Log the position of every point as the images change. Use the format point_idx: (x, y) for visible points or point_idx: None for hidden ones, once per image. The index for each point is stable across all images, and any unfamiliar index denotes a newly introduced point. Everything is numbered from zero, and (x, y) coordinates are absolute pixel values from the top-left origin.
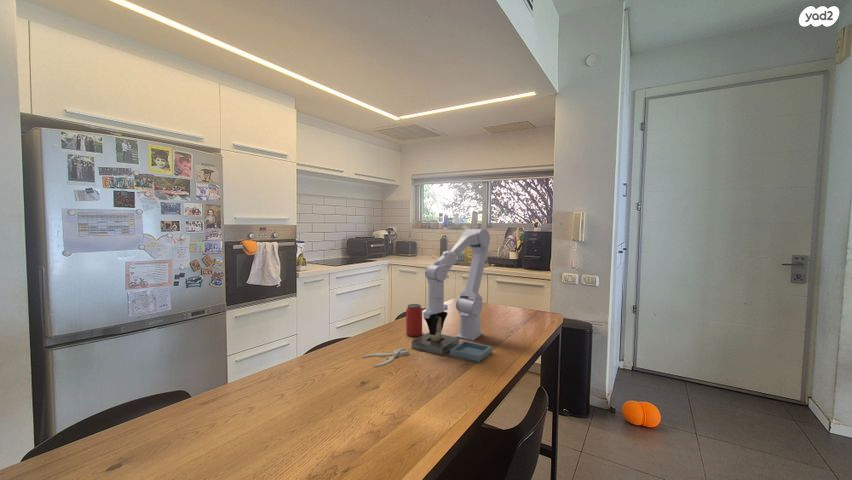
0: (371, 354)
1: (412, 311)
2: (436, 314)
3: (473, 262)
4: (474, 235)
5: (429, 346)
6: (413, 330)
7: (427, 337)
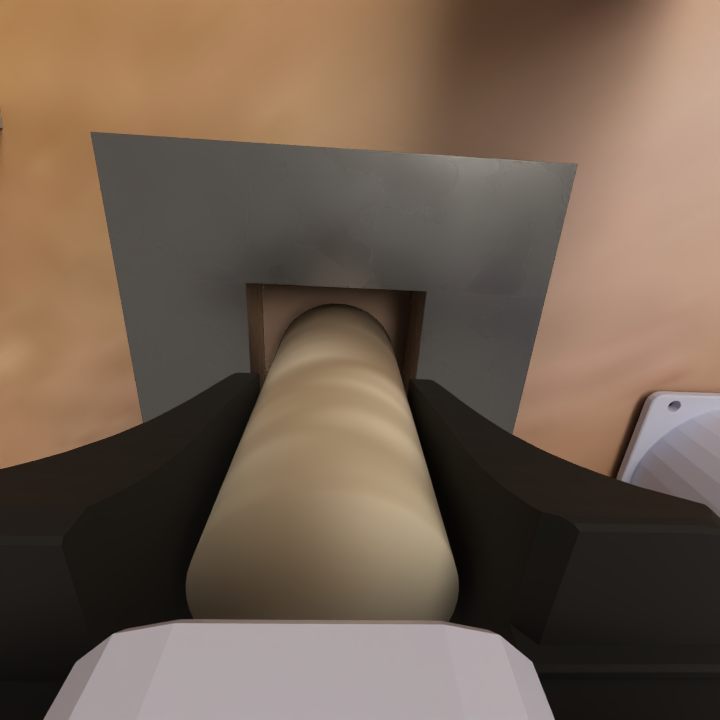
0: None
1: None
2: (496, 602)
3: None
4: None
5: (144, 390)
6: None
7: (348, 251)
